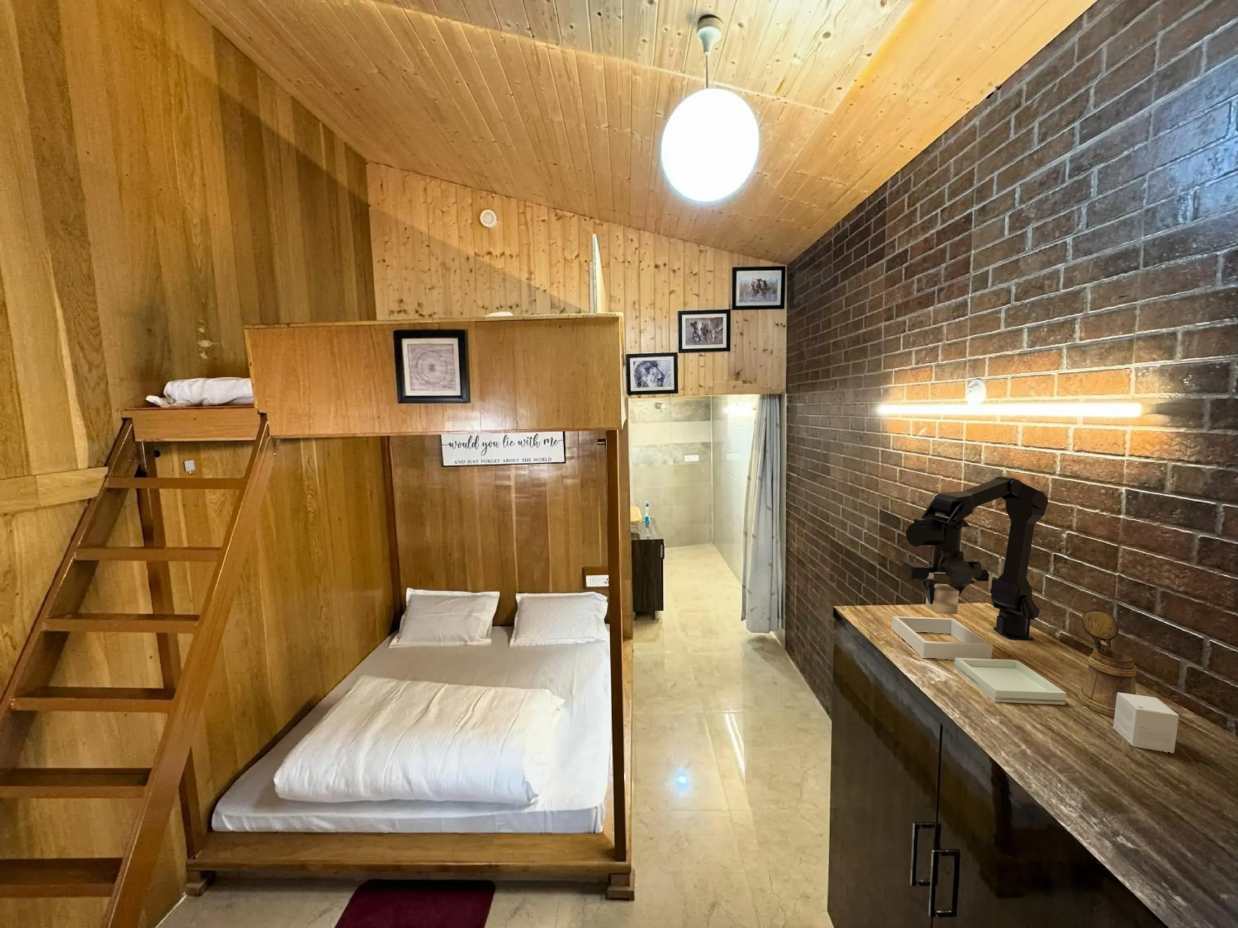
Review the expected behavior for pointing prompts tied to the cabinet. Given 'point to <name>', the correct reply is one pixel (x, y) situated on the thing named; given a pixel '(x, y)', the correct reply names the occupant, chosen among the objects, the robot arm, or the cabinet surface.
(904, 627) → the white square frame
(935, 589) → the birch block
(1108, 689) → the wooden mug
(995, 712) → the cabinet surface
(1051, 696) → the sage tray
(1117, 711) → the product box
